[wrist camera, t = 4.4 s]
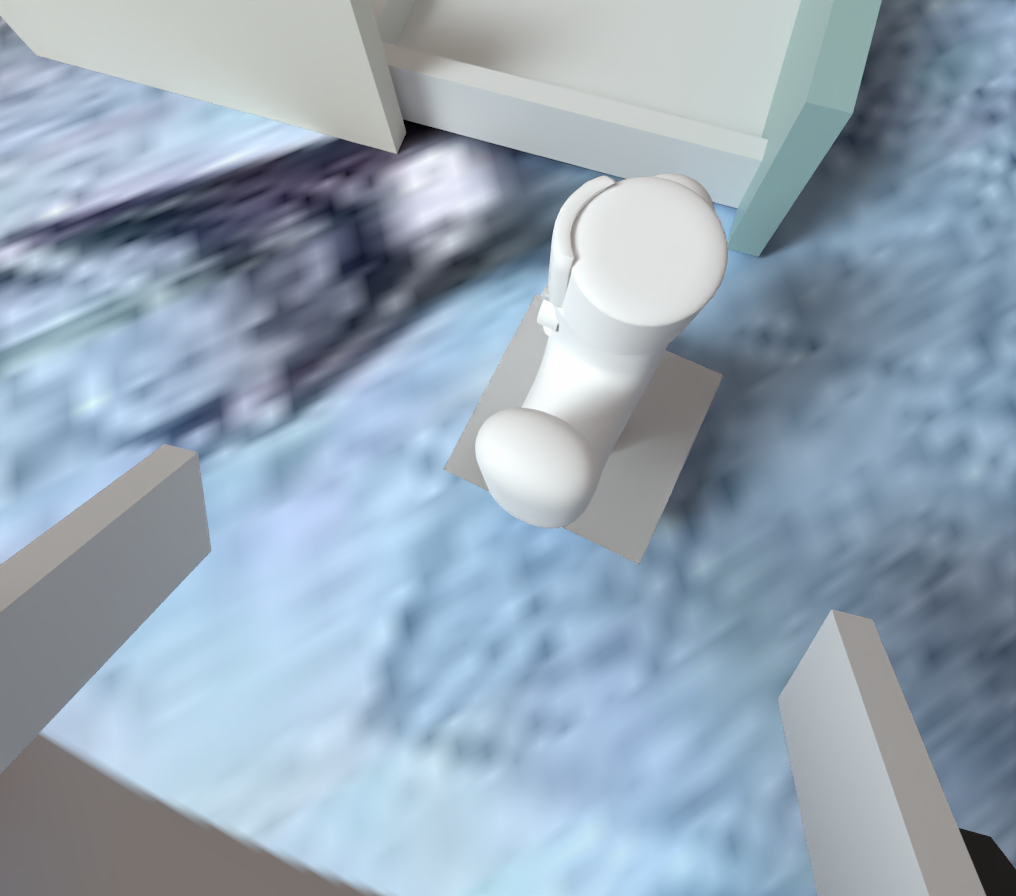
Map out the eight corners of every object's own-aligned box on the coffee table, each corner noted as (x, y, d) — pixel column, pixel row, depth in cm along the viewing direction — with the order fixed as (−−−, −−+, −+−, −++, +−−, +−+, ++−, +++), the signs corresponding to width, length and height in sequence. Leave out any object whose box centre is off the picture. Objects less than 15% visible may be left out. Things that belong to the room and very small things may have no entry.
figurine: (707, 383, 25) (942, 93, 11) (611, 596, 24) (739, 593, 9) (546, 313, 26) (563, -39, 12) (443, 512, 25) (312, 387, 10)
